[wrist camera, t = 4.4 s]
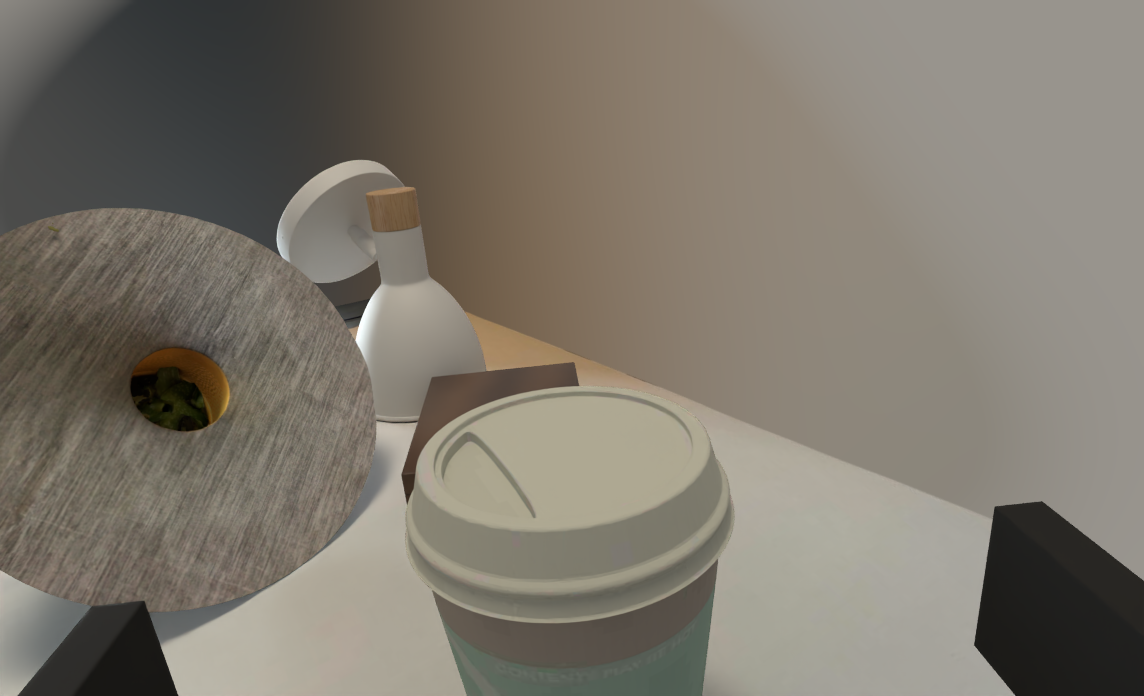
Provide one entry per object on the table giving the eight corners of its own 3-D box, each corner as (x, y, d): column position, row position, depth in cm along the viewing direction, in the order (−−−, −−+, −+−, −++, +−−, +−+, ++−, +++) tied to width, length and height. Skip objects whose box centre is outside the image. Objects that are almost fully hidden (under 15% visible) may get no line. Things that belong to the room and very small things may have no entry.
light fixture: (393, 483, 62) (457, 326, 49) (261, 326, 68) (288, 152, 56) (494, 425, 71) (570, 280, 58) (370, 291, 77) (414, 135, 65)
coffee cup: (495, 671, 33) (450, 381, 28) (725, 680, 32) (722, 373, 27) (421, 920, 24) (331, 544, 18) (749, 951, 22) (751, 548, 17)
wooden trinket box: (578, 405, 61) (574, 361, 59) (597, 508, 46) (592, 453, 44) (438, 419, 60) (431, 376, 59) (411, 528, 45) (400, 474, 44)
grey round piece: (383, 504, 61) (196, 293, 62) (471, 418, 49) (237, 156, 50) (93, 753, 43) (-171, 452, 44) (119, 714, 31) (-246, 297, 31)
